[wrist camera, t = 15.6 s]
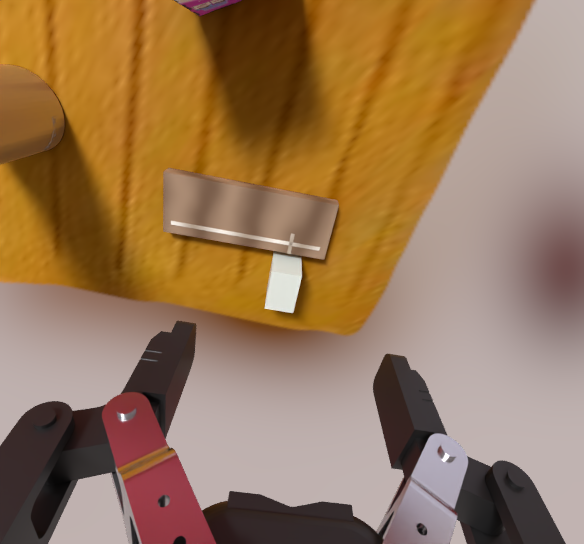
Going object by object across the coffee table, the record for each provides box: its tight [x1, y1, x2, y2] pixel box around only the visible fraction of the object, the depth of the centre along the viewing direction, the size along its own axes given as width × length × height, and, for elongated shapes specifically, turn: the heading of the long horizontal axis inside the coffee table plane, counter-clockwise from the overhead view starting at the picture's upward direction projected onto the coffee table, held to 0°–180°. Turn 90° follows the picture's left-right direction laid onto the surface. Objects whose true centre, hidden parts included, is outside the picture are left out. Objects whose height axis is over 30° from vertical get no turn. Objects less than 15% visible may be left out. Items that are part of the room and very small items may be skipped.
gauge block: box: [265, 251, 302, 313], centre depth 48 cm, size 4×6×6 cm, turn 169°
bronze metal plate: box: [163, 168, 339, 260], centre depth 45 cm, size 22×8×2 cm, turn 79°
